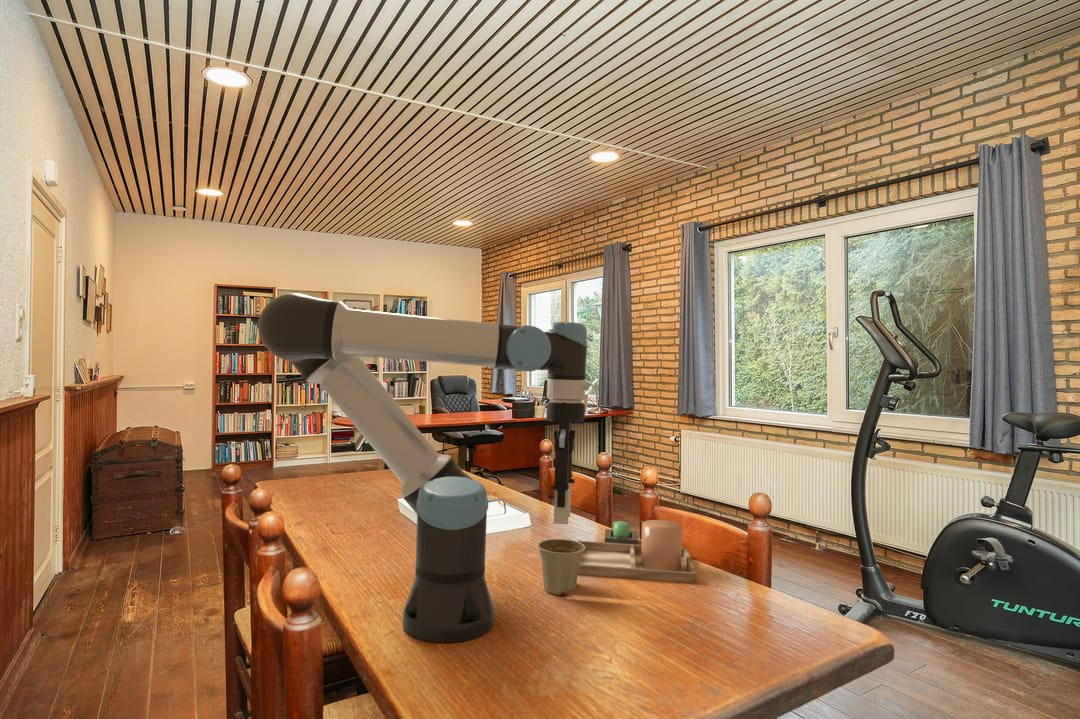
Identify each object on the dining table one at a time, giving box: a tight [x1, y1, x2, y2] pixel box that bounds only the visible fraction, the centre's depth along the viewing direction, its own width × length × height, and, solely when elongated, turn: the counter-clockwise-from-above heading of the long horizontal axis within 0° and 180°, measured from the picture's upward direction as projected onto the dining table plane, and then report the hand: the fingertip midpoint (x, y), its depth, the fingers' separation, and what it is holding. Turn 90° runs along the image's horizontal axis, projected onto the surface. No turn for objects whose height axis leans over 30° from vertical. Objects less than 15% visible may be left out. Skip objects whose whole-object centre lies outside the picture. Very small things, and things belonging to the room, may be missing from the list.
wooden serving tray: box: [577, 540, 698, 584], centre depth 132 cm, size 18×25×3 cm
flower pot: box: [536, 538, 585, 596], centre depth 118 cm, size 9×9×9 cm
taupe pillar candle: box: [640, 519, 683, 571], centre depth 131 cm, size 9×9×9 cm
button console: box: [604, 528, 640, 545], centre depth 147 cm, size 8×8×3 cm
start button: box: [612, 520, 631, 538], centre depth 147 cm, size 4×4×5 cm
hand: (562, 519), depth 118 cm, fingers open, 5 cm apart
